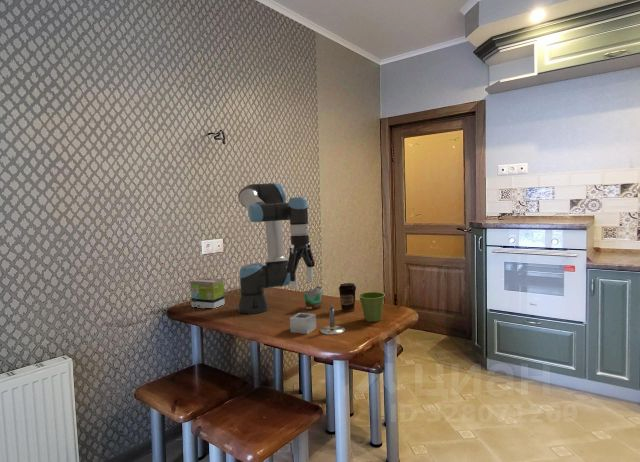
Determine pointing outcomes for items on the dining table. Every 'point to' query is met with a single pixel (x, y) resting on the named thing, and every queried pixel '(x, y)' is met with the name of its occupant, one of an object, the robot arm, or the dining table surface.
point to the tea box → (207, 293)
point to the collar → (303, 323)
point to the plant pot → (372, 305)
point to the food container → (313, 298)
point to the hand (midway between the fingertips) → (302, 285)
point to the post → (332, 325)
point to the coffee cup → (347, 296)
